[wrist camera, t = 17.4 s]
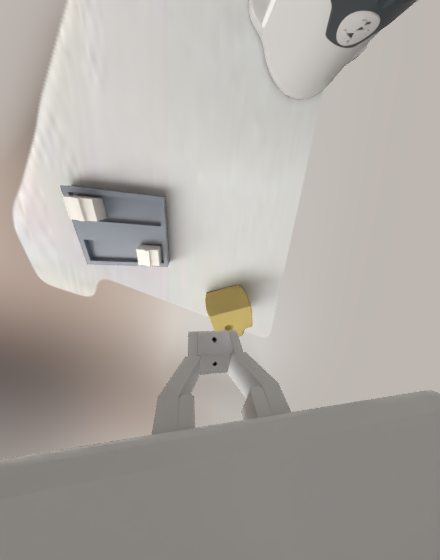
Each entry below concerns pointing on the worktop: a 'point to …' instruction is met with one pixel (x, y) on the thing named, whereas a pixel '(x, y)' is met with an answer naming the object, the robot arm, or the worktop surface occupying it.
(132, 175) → the worktop surface
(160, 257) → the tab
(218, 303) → the cheese
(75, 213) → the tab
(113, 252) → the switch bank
